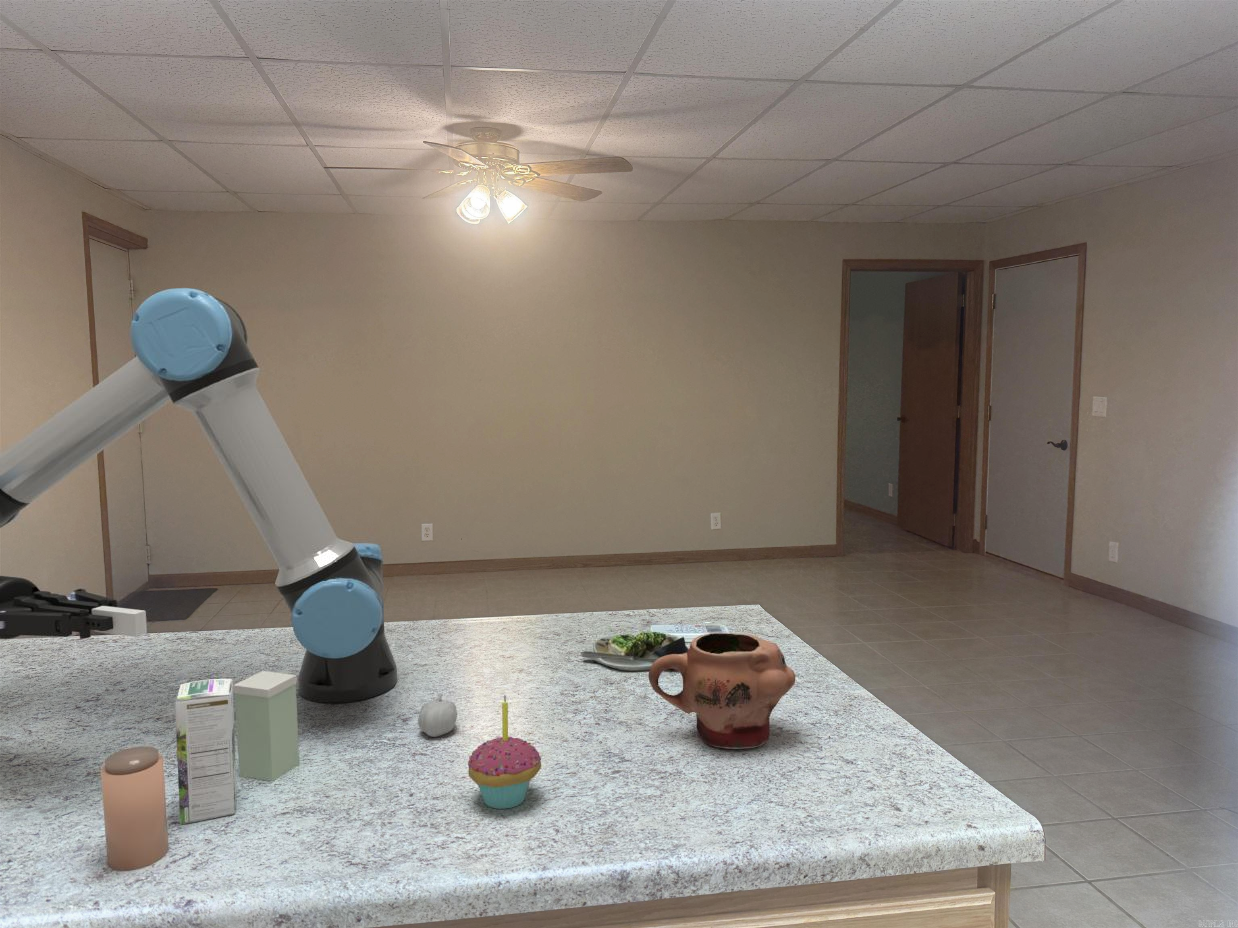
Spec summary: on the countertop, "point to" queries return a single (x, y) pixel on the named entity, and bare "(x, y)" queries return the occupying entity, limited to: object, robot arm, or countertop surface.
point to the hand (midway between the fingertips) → (140, 623)
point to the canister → (134, 808)
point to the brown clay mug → (728, 686)
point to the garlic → (437, 717)
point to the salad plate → (635, 650)
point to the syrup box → (206, 750)
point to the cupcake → (504, 767)
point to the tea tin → (267, 725)
